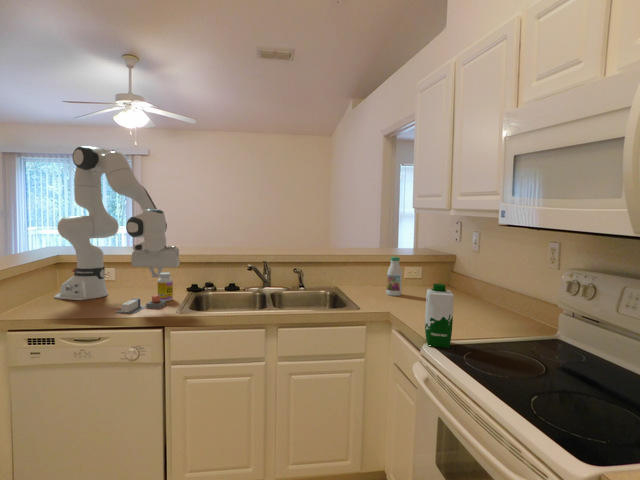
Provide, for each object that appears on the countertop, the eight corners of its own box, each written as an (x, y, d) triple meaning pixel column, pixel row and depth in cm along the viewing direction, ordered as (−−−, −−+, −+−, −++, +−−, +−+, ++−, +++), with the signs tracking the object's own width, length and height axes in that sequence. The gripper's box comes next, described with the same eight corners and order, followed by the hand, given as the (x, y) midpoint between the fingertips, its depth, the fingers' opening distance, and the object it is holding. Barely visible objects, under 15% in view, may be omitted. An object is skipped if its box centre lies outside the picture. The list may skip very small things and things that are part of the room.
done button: (150, 303, 171) (150, 296, 171) (154, 301, 175) (154, 294, 174) (158, 303, 171) (158, 296, 171) (161, 301, 175) (161, 295, 174)
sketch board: (115, 312, 162) (115, 312, 162) (128, 306, 173) (128, 305, 173) (134, 313, 162) (134, 312, 162) (146, 306, 173) (146, 305, 173)
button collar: (146, 308, 170) (146, 303, 170) (152, 304, 176) (152, 300, 176) (160, 308, 170) (159, 303, 170) (165, 304, 176) (165, 300, 176)
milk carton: (448, 340, 137) (451, 283, 135) (453, 349, 128) (456, 289, 126) (423, 338, 138) (425, 282, 136) (425, 347, 129) (428, 287, 128)
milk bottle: (390, 292, 212) (391, 255, 210) (403, 294, 207) (405, 257, 206) (383, 294, 206) (385, 257, 204) (397, 297, 201) (398, 258, 199)
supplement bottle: (167, 302, 181) (167, 274, 180) (154, 301, 182) (154, 274, 181) (175, 298, 188) (175, 272, 187) (163, 297, 189) (162, 271, 188)
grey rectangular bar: (128, 312, 162) (128, 304, 162) (121, 312, 162) (121, 304, 162) (140, 306, 172) (140, 298, 172) (133, 305, 172) (133, 298, 172)
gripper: (181, 245, 174) (182, 276, 175) (136, 244, 174) (136, 275, 175) (176, 247, 167) (176, 278, 168) (129, 246, 168) (129, 277, 169)
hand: (156, 277), depth 172 cm, fingers closed
